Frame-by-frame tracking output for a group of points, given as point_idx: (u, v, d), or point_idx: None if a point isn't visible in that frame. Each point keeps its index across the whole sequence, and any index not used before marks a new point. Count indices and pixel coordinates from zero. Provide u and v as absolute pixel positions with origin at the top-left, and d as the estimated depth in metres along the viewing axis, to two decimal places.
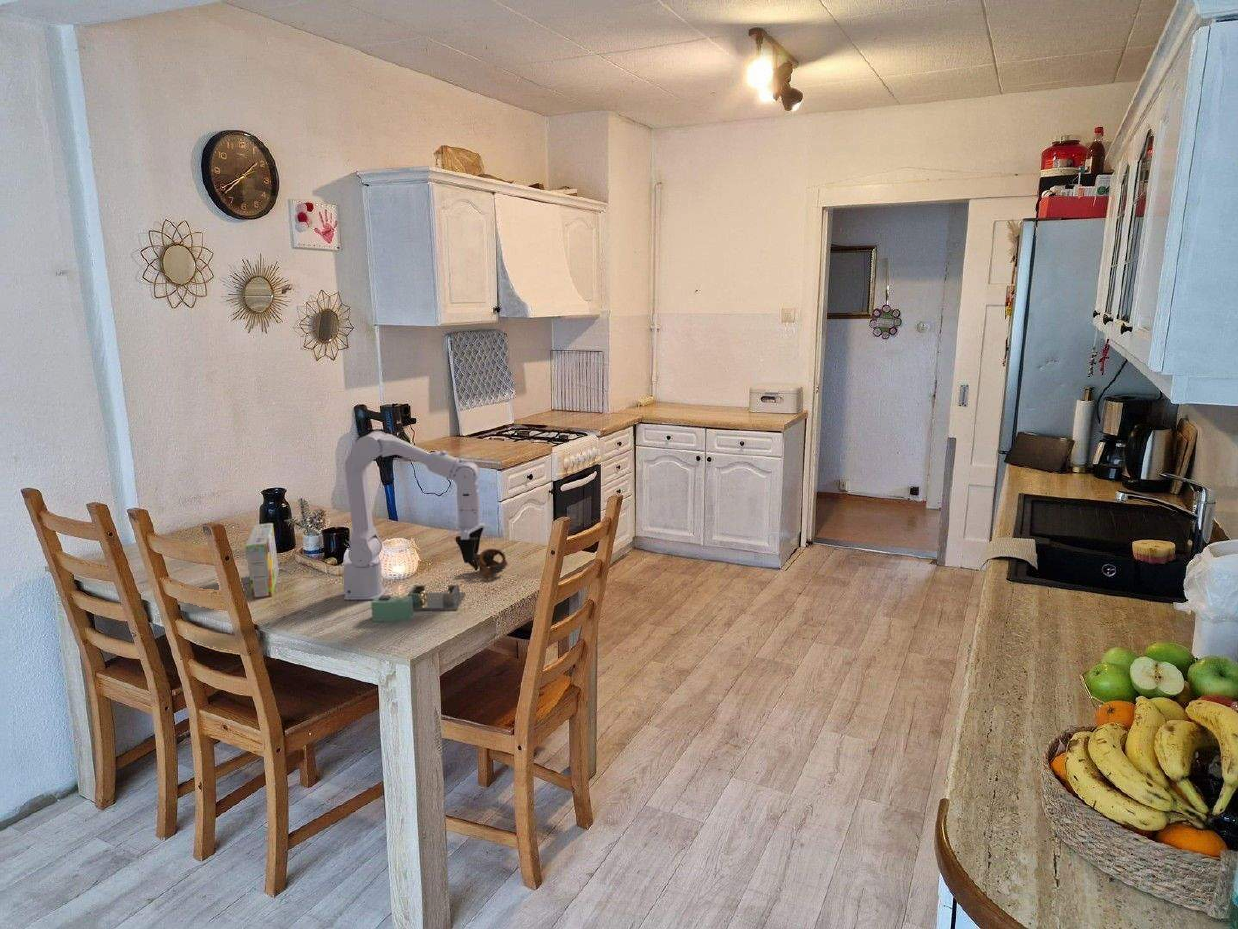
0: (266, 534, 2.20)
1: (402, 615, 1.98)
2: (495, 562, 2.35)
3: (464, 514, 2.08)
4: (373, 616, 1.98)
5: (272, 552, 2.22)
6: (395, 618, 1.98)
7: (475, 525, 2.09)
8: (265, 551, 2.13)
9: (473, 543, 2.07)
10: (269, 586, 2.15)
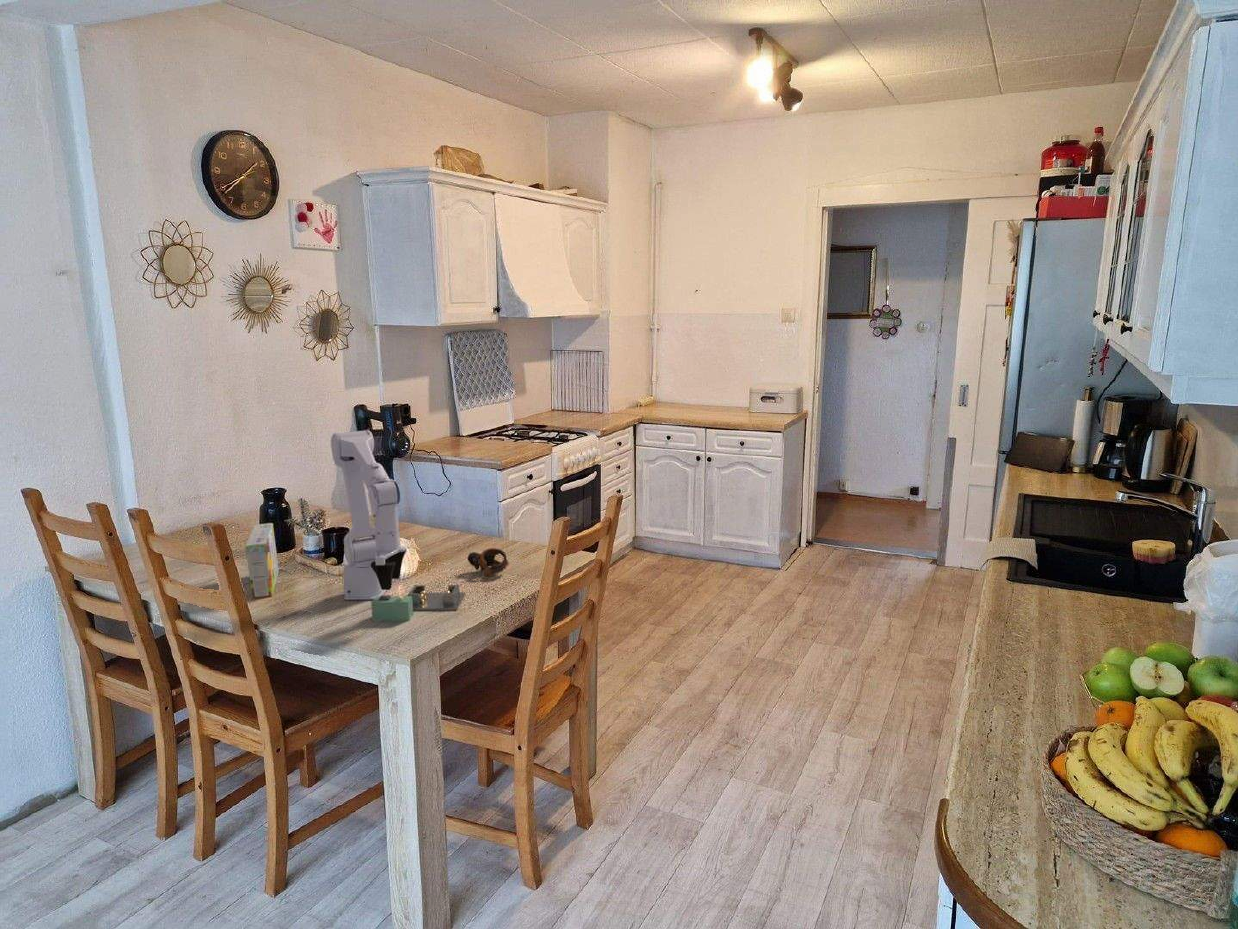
0: (266, 534, 2.20)
1: (402, 615, 1.98)
2: (496, 562, 2.35)
3: (381, 538, 1.93)
4: (373, 616, 1.98)
5: (272, 552, 2.22)
6: (395, 618, 1.98)
7: (393, 549, 1.94)
8: (265, 551, 2.13)
9: (390, 569, 1.91)
10: (269, 586, 2.15)
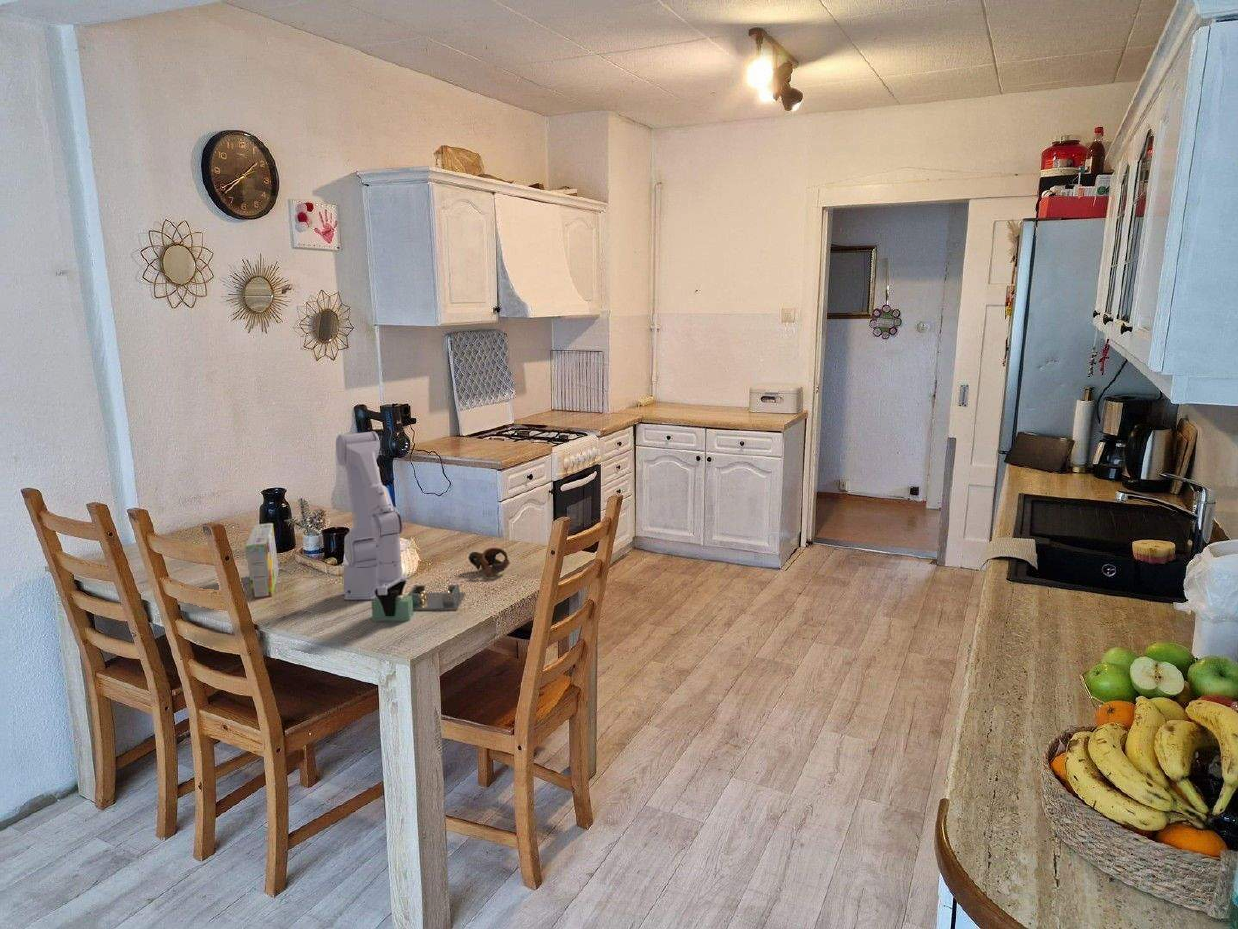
0: (266, 534, 2.20)
1: (402, 614, 1.97)
2: (497, 561, 2.36)
3: (383, 567, 1.94)
4: (373, 615, 1.98)
5: (272, 552, 2.22)
6: (395, 617, 1.98)
7: (395, 578, 1.96)
8: (265, 551, 2.13)
9: (394, 596, 1.94)
10: (269, 586, 2.15)
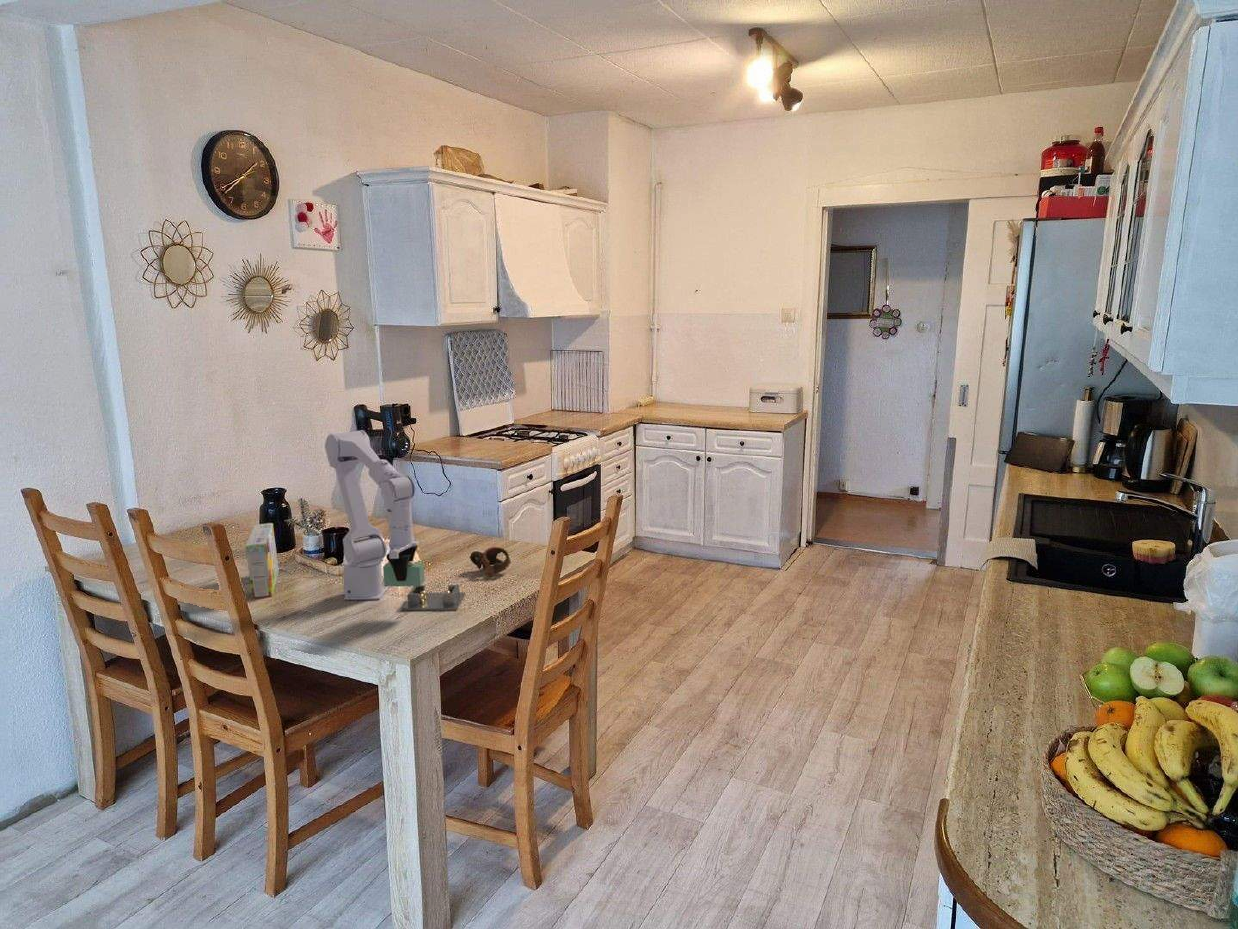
0: (266, 534, 2.20)
1: (414, 579, 1.99)
2: (498, 560, 2.37)
3: (395, 532, 1.96)
4: (385, 581, 1.99)
5: (272, 552, 2.22)
6: (407, 582, 1.99)
7: (407, 543, 1.97)
8: (265, 551, 2.13)
9: (406, 561, 1.96)
10: (269, 586, 2.15)
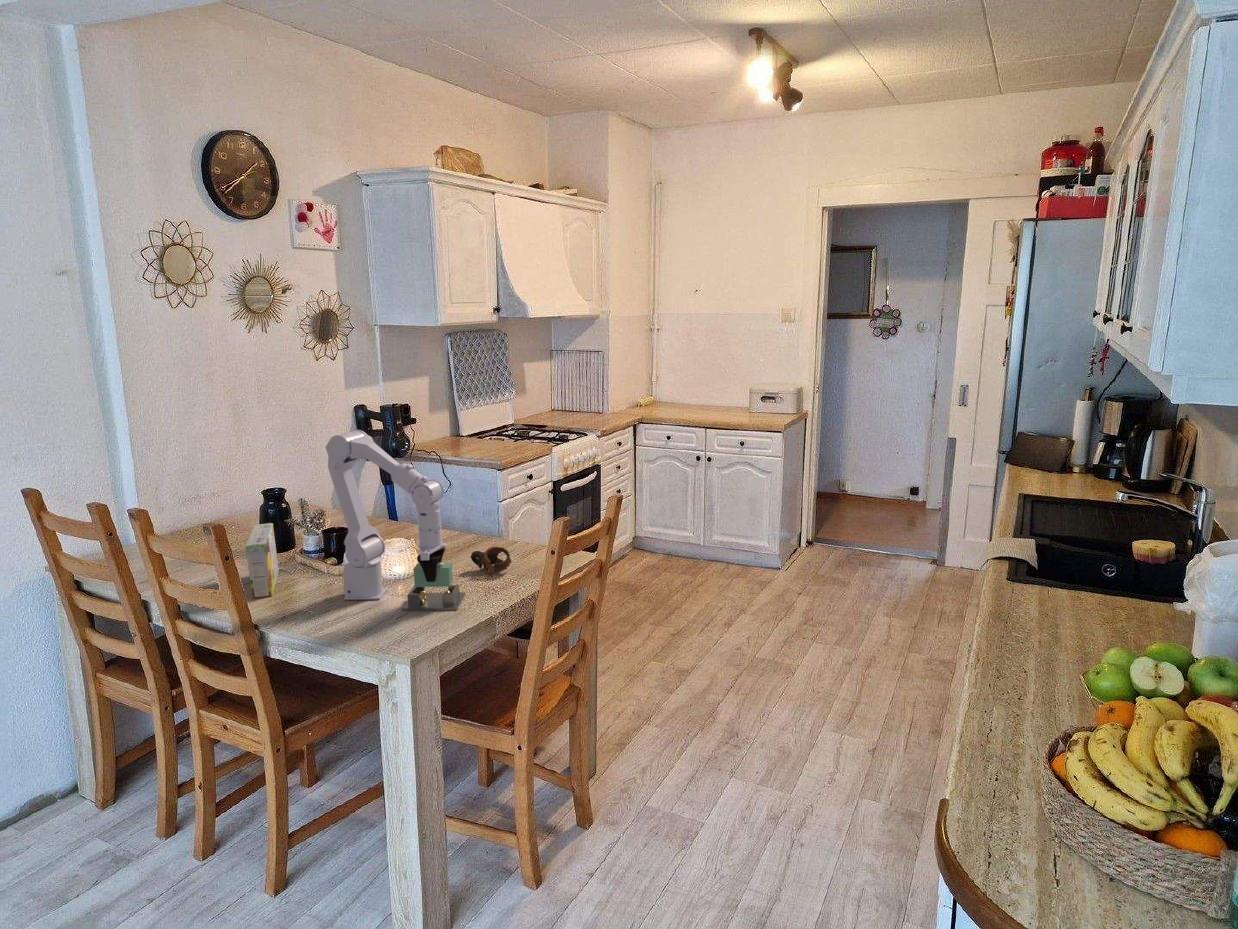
0: (266, 534, 2.20)
1: (443, 580, 2.06)
2: (499, 560, 2.37)
3: (425, 534, 2.03)
4: (415, 581, 2.06)
5: (272, 552, 2.22)
6: (436, 583, 2.06)
7: (436, 545, 2.04)
8: (265, 551, 2.13)
9: (435, 562, 2.03)
10: (269, 586, 2.15)
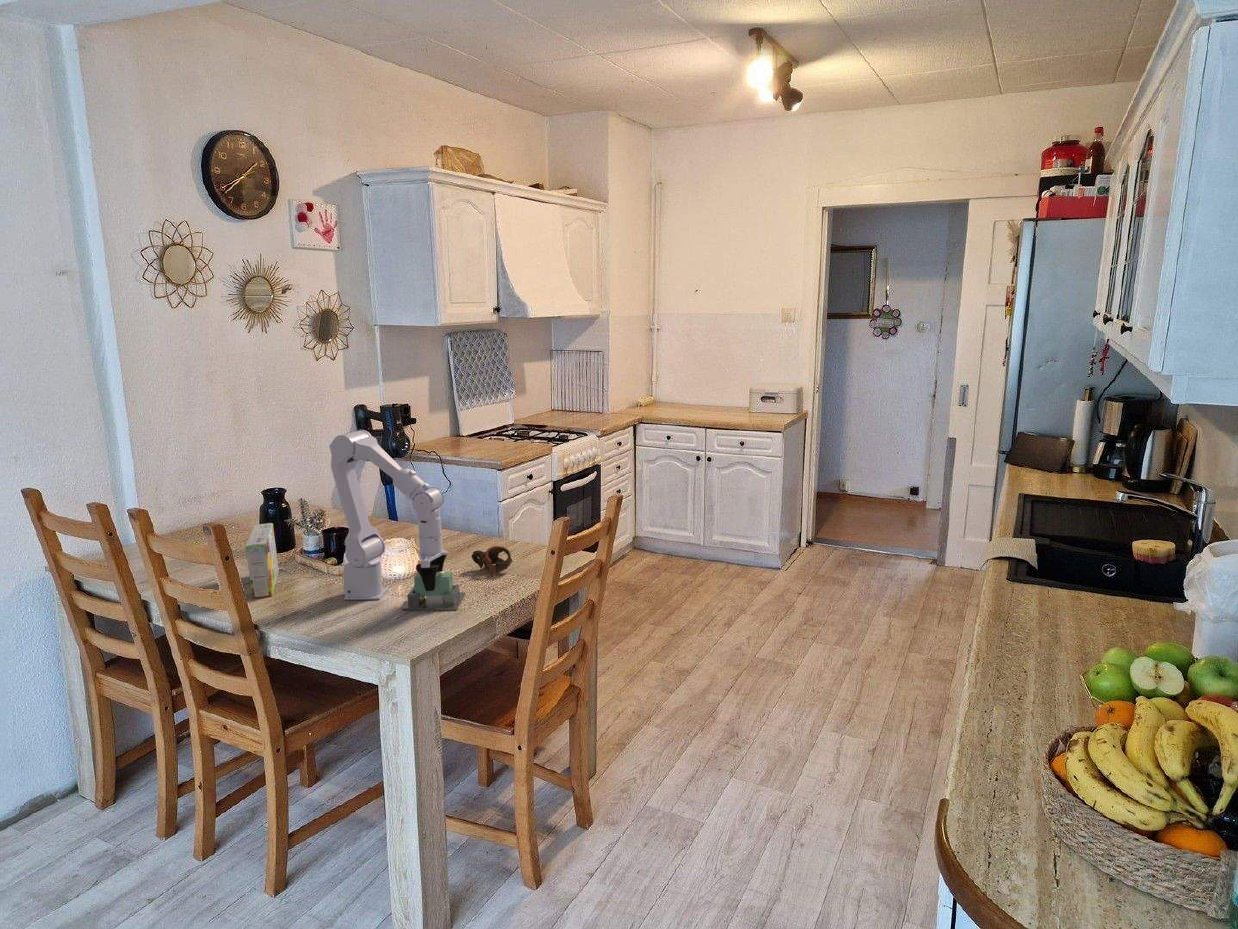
0: (266, 534, 2.20)
1: (443, 589, 2.07)
2: (500, 559, 2.37)
3: (426, 542, 2.03)
4: (415, 590, 2.07)
5: (272, 552, 2.22)
6: (436, 592, 2.07)
7: (437, 552, 2.05)
8: (265, 551, 2.13)
9: (434, 571, 2.02)
10: (269, 586, 2.15)
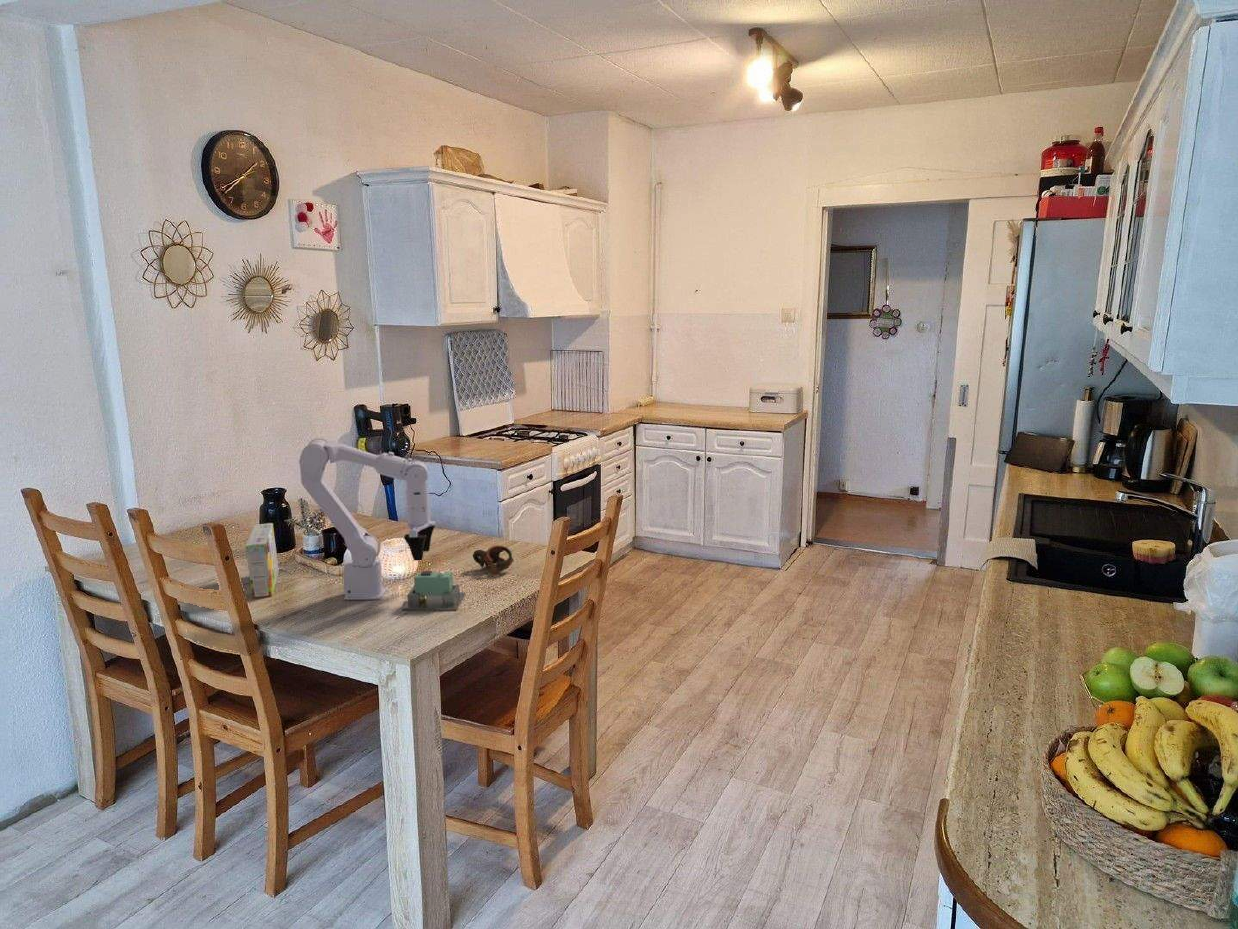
0: (266, 534, 2.20)
1: (443, 589, 2.07)
2: (500, 559, 2.38)
3: (414, 513, 2.11)
4: (415, 590, 2.07)
5: (272, 552, 2.22)
6: (436, 592, 2.07)
7: (424, 523, 2.12)
8: (265, 551, 2.13)
9: (422, 541, 2.10)
10: (269, 586, 2.15)
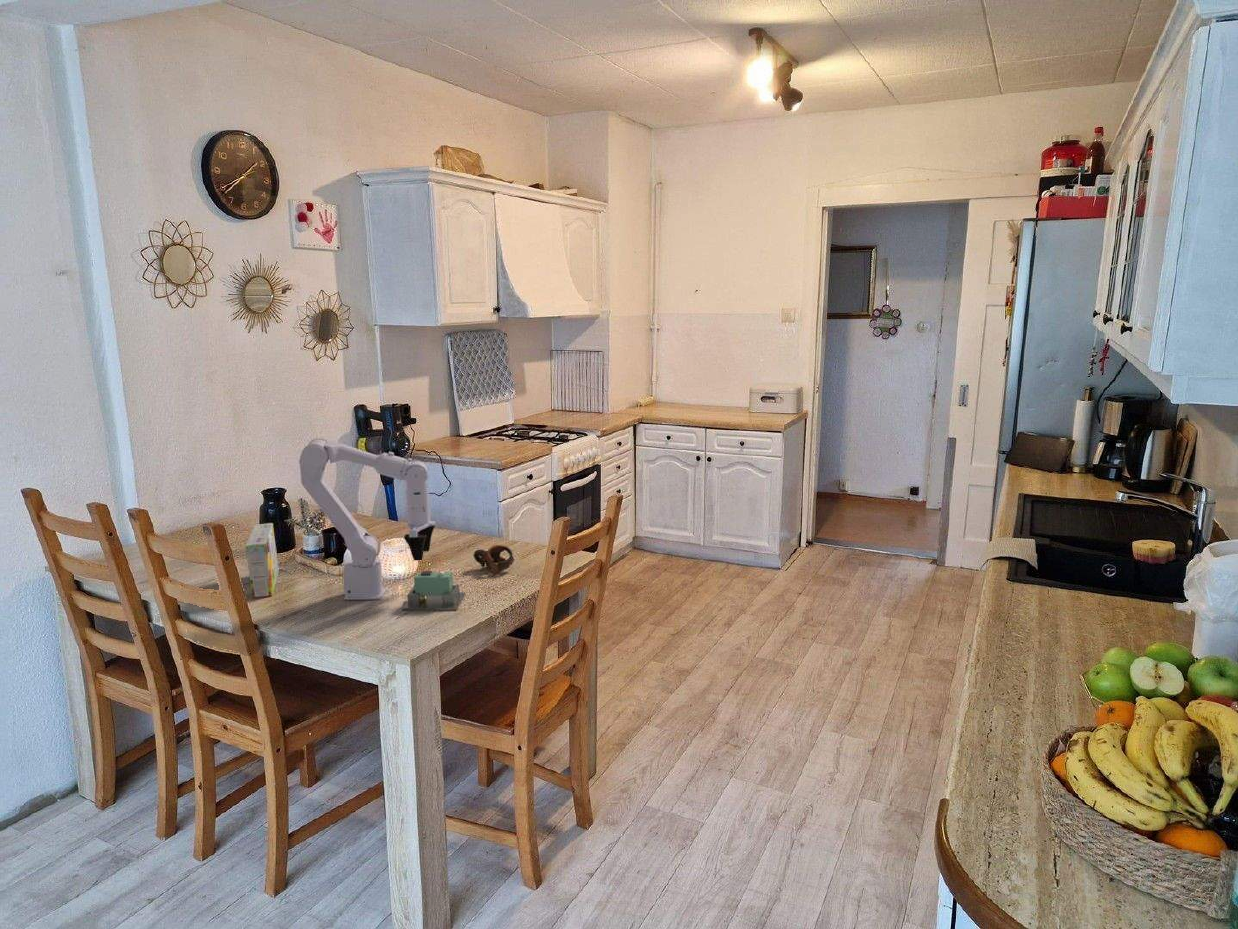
0: (266, 534, 2.20)
1: (443, 589, 2.07)
2: (501, 558, 2.38)
3: (414, 513, 2.11)
4: (415, 590, 2.07)
5: (272, 552, 2.22)
6: (436, 592, 2.07)
7: (424, 523, 2.12)
8: (265, 551, 2.13)
9: (422, 541, 2.10)
10: (269, 586, 2.15)
